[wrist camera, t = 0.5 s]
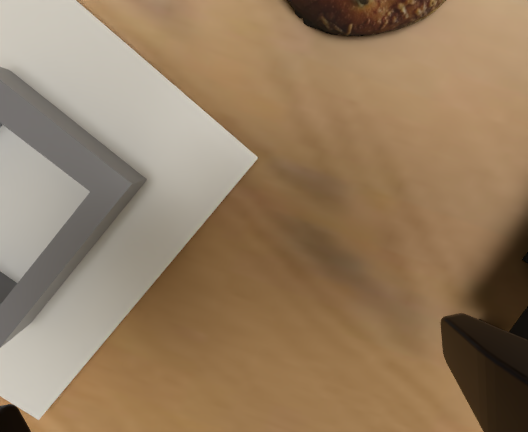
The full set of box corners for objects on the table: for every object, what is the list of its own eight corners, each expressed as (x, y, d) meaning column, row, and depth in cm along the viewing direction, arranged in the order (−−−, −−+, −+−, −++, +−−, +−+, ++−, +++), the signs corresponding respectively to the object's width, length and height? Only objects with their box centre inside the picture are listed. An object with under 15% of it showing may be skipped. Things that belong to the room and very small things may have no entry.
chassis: (12, -54, 18) (-48, -110, 14) (257, 157, 20) (261, 158, 17) (-206, 248, 19) (-311, 270, 16) (47, 408, 22) (8, 459, 18)
